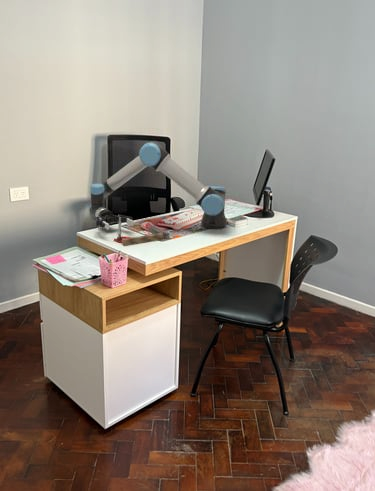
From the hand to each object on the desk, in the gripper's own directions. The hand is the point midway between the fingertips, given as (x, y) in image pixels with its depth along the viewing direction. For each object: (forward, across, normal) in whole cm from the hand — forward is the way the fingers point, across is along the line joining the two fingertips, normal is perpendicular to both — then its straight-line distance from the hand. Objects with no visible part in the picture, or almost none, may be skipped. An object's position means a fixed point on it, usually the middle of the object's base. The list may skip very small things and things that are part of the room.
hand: (120, 225), depth 224 cm
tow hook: (+3, -1, -8) cm, 8 cm away
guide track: (+3, -9, -7) cm, 12 cm away
